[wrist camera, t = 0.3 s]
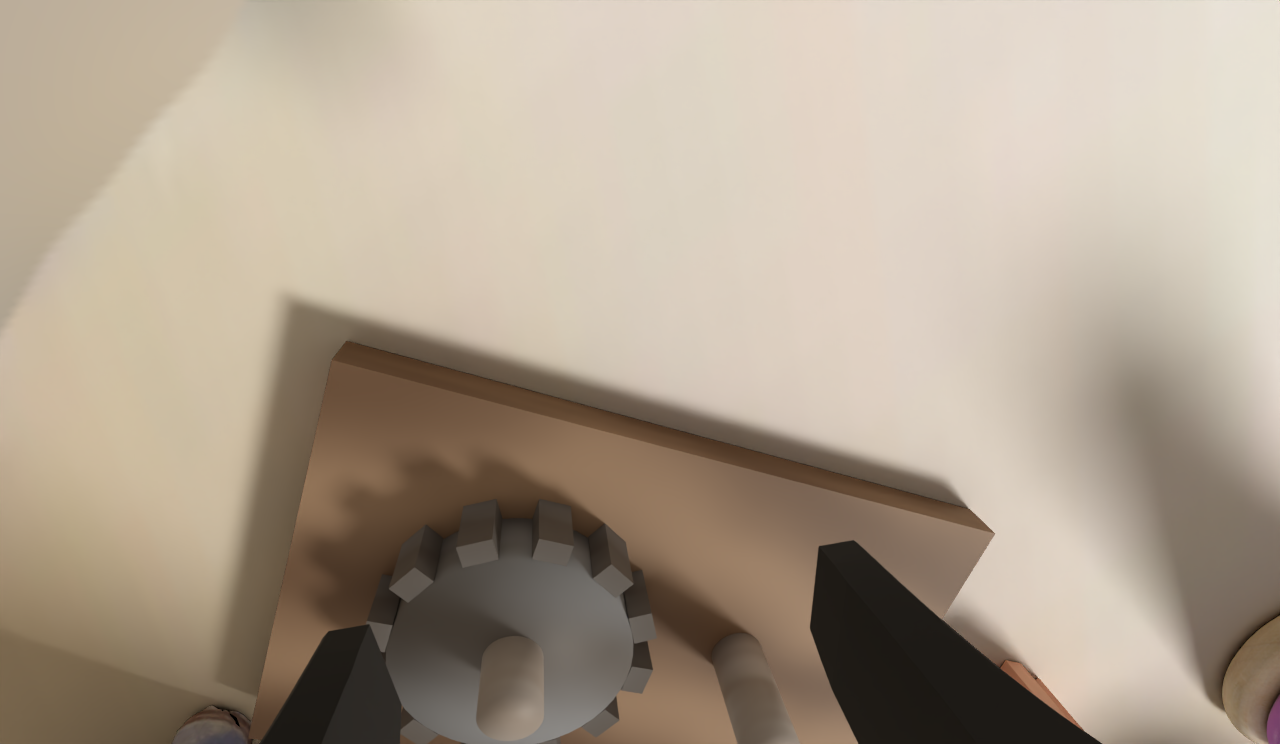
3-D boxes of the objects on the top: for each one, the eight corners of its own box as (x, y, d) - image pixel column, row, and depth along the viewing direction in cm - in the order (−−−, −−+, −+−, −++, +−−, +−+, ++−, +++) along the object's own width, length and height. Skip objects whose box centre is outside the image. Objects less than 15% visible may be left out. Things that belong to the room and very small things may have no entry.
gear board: (809, 775, 29) (866, 918, 24) (264, 700, 24) (190, 865, 19) (969, 509, 25) (1080, 615, 20) (346, 341, 19) (278, 428, 14)
